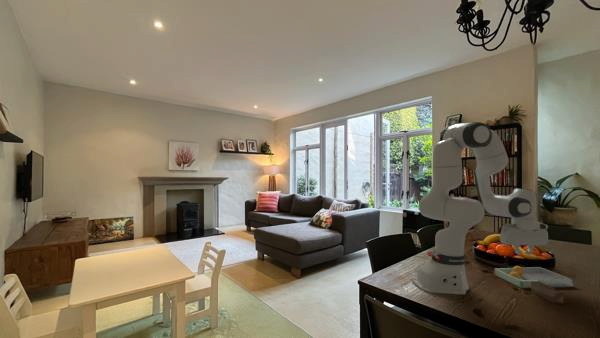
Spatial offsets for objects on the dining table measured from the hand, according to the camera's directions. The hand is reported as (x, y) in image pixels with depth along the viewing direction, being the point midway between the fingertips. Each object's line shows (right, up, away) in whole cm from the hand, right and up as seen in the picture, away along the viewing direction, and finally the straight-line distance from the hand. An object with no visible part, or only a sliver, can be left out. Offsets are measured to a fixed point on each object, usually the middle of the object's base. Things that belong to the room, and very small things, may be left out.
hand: (523, 254), depth 118 cm
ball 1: (+1, -9, +4) cm, 10 cm away
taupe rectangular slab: (-5, -12, -16) cm, 21 cm away
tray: (-4, -12, 0) cm, 13 cm away
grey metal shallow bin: (+8, -12, +1) cm, 15 cm away
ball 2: (-5, -10, -1) cm, 11 cm away
